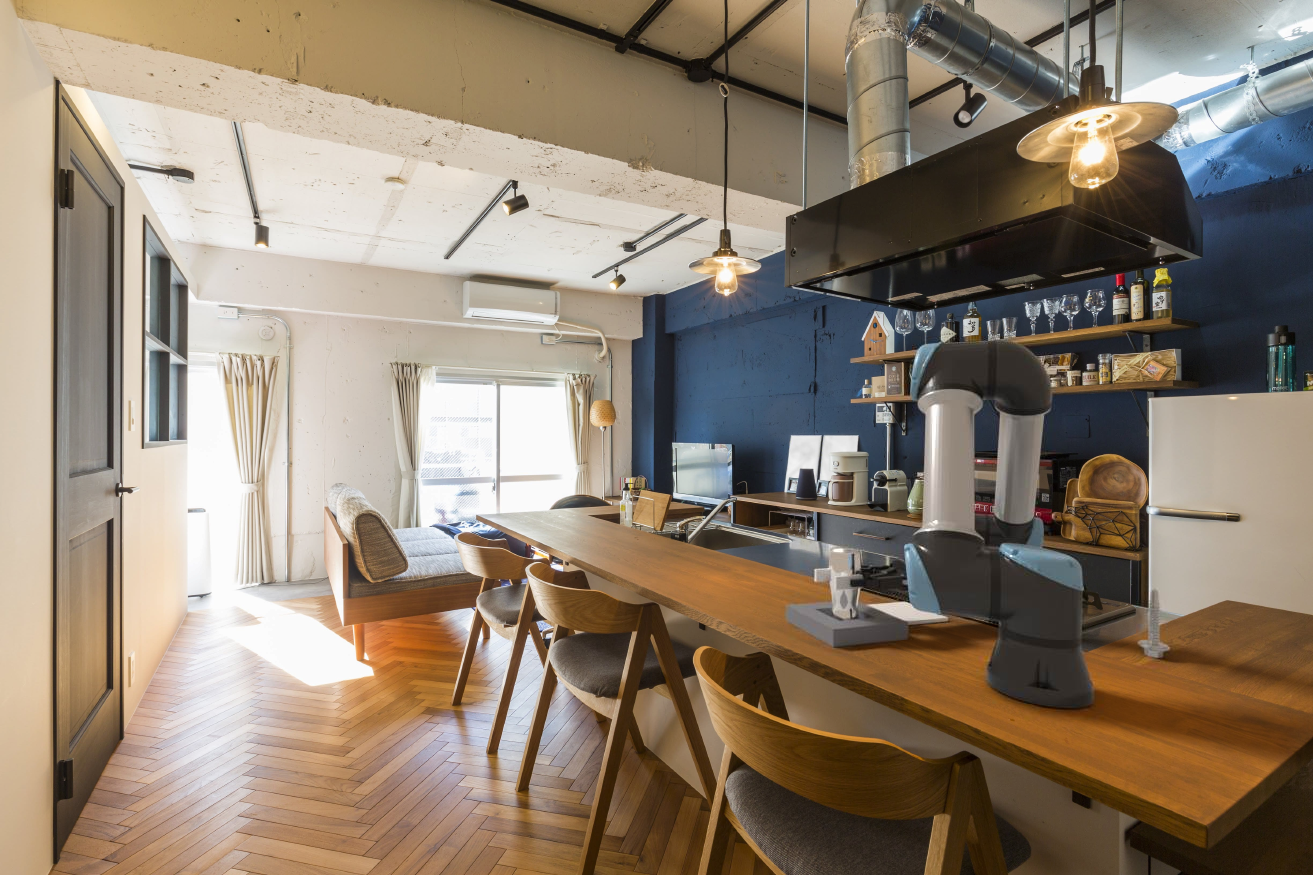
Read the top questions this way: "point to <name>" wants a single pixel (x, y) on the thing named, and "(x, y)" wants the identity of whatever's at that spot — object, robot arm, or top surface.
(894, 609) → the stone tile
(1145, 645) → the screw
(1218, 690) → the top surface
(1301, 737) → the top surface
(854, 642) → the pocket holder
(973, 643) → the top surface
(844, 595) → the metal tumbler
